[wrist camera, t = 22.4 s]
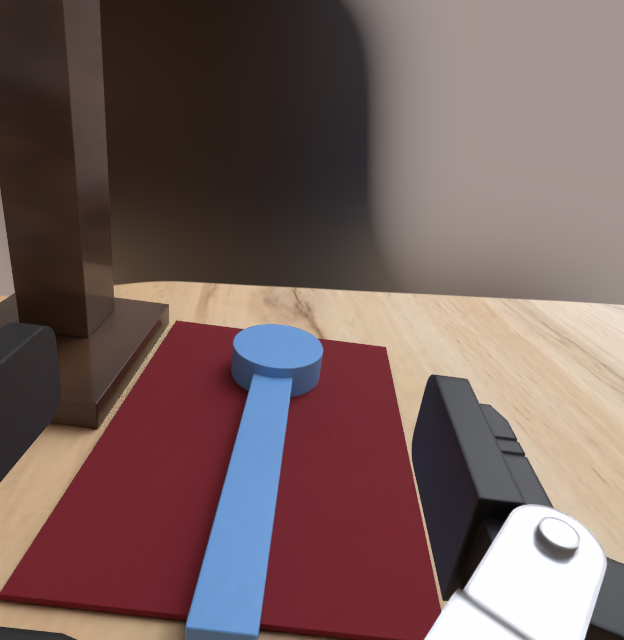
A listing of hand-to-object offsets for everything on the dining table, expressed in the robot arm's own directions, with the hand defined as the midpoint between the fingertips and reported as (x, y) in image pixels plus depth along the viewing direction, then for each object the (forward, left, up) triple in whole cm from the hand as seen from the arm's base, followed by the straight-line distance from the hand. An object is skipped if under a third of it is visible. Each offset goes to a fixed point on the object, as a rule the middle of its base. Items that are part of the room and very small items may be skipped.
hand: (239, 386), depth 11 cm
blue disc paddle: (0, +10, -10) cm, 14 cm away
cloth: (0, +12, -11) cm, 16 cm away
